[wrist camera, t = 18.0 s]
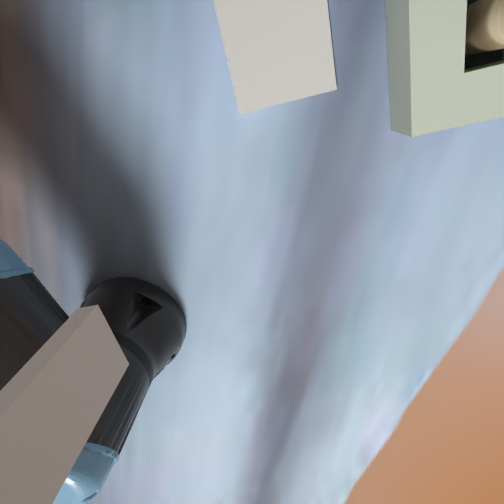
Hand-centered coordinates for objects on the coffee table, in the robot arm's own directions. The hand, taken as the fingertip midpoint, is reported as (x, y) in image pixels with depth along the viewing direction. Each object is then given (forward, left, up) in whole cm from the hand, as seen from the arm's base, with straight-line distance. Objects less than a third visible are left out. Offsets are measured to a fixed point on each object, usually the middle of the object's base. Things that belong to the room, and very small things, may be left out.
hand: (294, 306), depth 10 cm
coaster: (+1, +10, -28) cm, 30 cm away
